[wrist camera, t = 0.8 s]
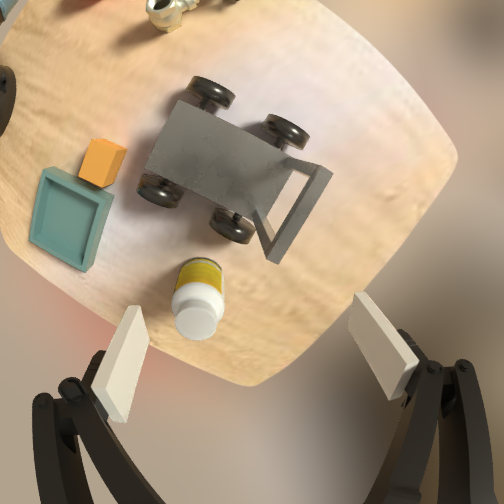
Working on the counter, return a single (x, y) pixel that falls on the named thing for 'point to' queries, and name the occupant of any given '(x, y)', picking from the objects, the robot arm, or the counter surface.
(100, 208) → the tray
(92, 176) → the block
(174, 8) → the valve
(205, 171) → the trolley
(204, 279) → the pill bottle
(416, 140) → the counter surface
